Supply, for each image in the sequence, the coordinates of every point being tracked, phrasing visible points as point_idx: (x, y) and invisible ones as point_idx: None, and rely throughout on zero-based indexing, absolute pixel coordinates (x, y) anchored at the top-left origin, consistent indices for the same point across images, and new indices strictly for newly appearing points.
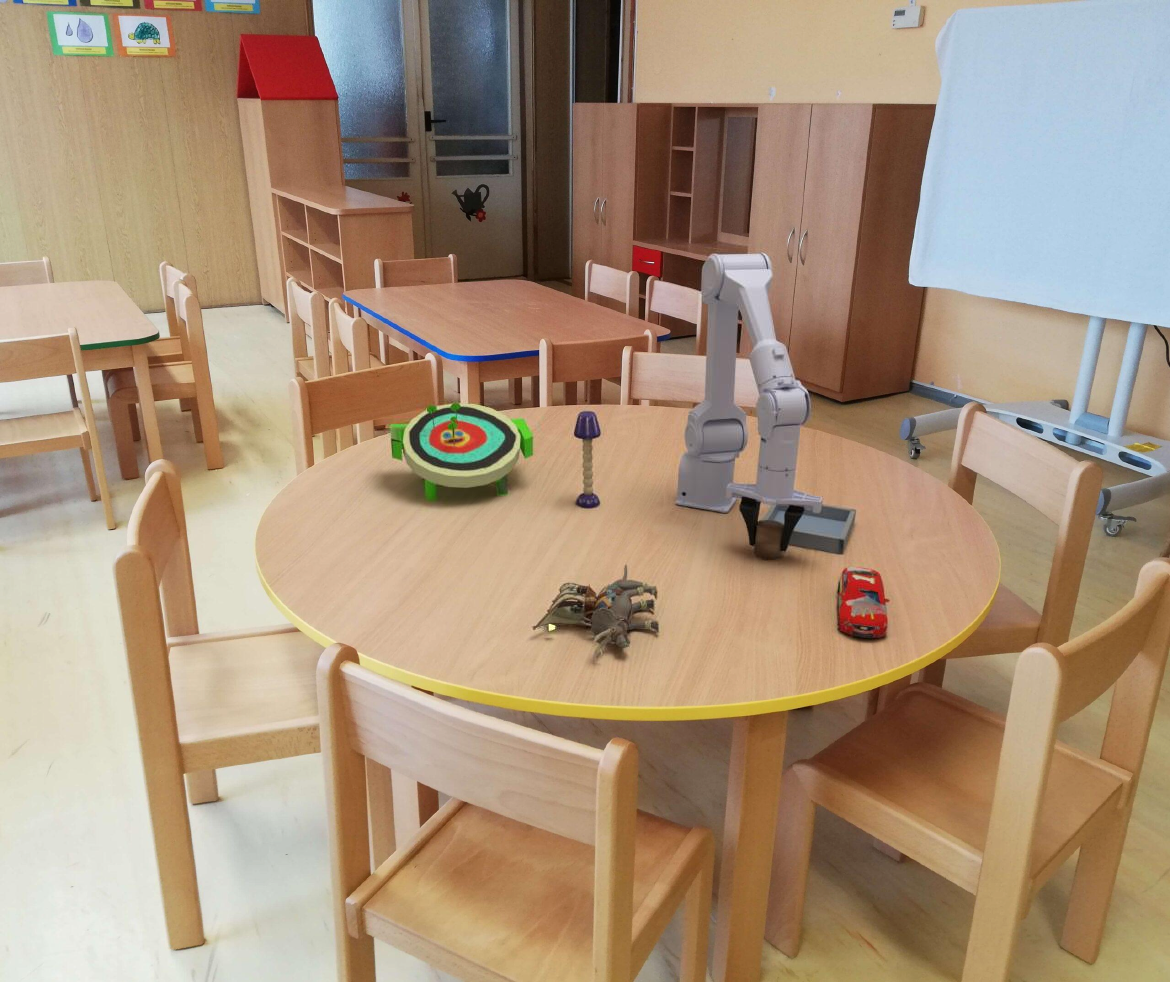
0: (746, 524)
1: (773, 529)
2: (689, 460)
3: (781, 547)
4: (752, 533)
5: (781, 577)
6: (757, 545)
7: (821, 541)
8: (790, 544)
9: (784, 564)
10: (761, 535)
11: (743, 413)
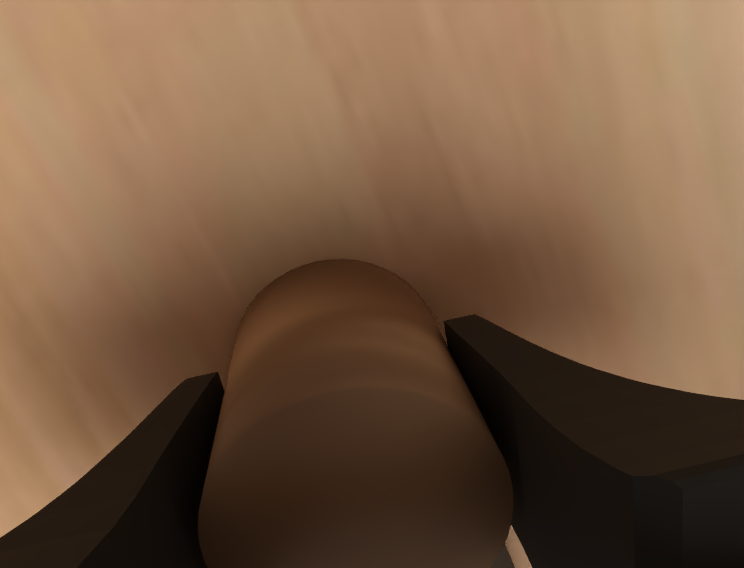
0: (599, 372)
1: (285, 459)
2: None
3: (205, 381)
4: (491, 354)
5: (42, 44)
6: (404, 309)
7: None
8: None
9: (158, 285)
10: (387, 350)
11: None
